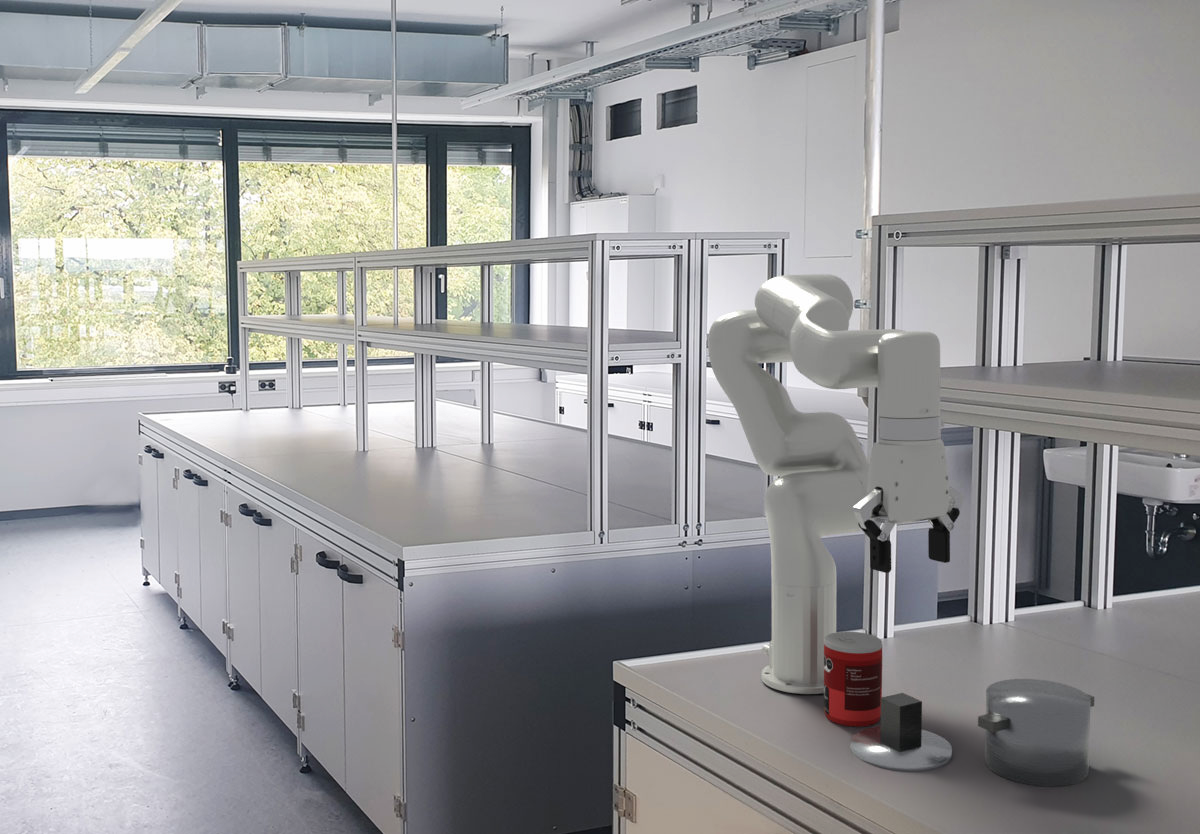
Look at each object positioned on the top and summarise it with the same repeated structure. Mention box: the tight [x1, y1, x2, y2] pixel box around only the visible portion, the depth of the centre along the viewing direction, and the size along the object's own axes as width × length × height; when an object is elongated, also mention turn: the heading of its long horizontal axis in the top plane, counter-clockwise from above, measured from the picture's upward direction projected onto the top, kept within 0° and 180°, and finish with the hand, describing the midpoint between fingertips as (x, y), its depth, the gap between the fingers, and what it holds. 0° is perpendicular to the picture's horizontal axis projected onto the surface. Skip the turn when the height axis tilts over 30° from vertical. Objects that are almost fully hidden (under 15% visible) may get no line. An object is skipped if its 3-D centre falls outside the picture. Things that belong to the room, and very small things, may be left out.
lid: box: [850, 692, 953, 772], centre depth 152 cm, size 13×13×7 cm
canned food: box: [823, 631, 883, 728], centre depth 163 cm, size 8×8×11 cm
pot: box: [977, 678, 1095, 788], centre depth 146 cm, size 12×17×9 cm
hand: (910, 565), depth 149 cm, fingers open, 9 cm apart
